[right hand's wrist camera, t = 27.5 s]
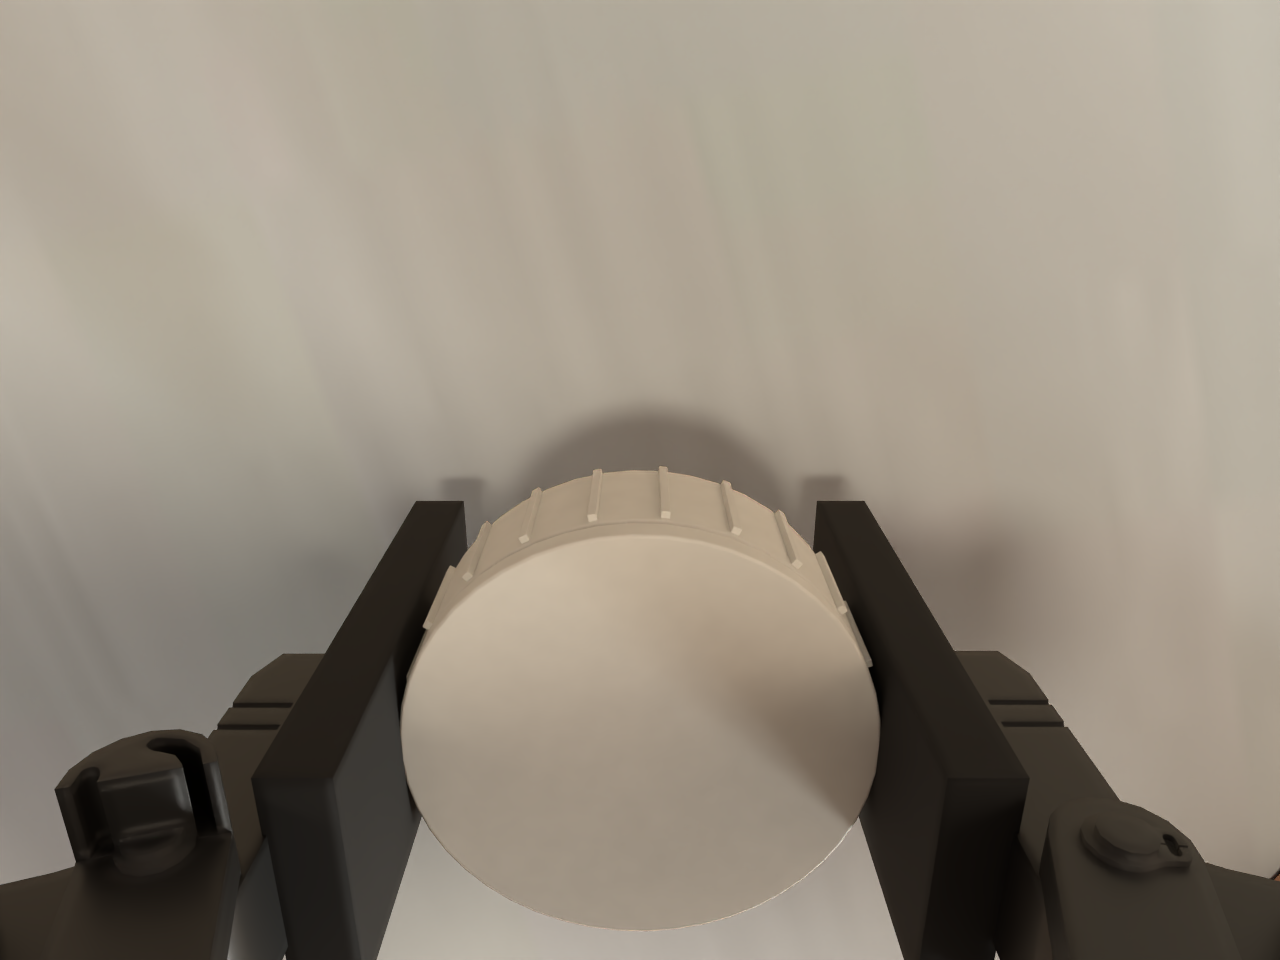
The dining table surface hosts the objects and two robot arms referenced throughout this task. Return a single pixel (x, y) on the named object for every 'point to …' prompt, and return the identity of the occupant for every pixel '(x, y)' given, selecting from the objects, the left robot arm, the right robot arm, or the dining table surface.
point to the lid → (640, 704)
